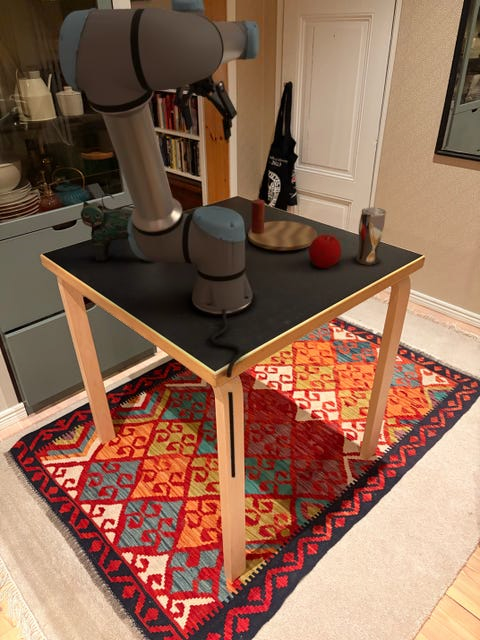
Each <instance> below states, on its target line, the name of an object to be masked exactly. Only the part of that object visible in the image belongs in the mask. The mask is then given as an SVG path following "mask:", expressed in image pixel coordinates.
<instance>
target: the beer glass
mask: <svg viewBox="0 0 480 640" xmlns="http://www.w3.org/2000/svg"><path fill="white" fill-rule="evenodd" d="M360 212H361V213H360V217H359V223H358V251H357V255H356V257H355V261H356V262H357V263H359V264H361V265H365V266H372V265H376V264H377V263H378V251H379V247H380V243H381V240H382V238H383V236H384V235H383V234H384V231H385V225H386V214H387V211H386V210H385V209H383V208H379V207H372V206H371V207H365V208H364V207H363V208H362V209H361V211H360Z"/></svg>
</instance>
